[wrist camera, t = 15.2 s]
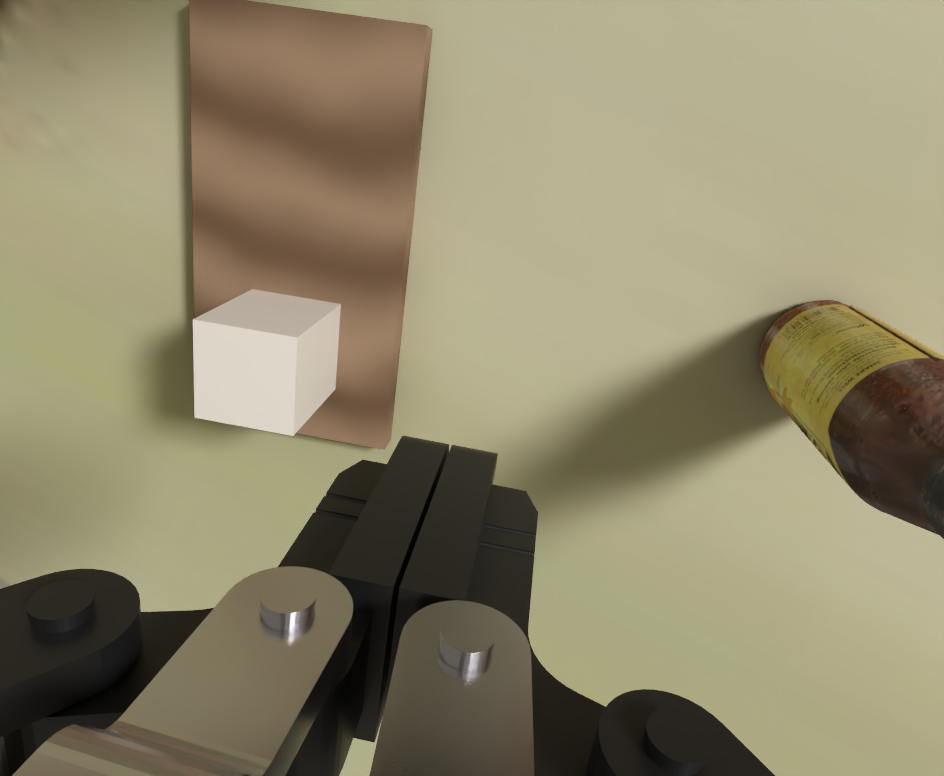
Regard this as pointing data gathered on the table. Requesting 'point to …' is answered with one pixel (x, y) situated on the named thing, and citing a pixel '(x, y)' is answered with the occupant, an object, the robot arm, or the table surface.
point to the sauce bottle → (864, 404)
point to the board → (310, 180)
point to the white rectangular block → (265, 360)
